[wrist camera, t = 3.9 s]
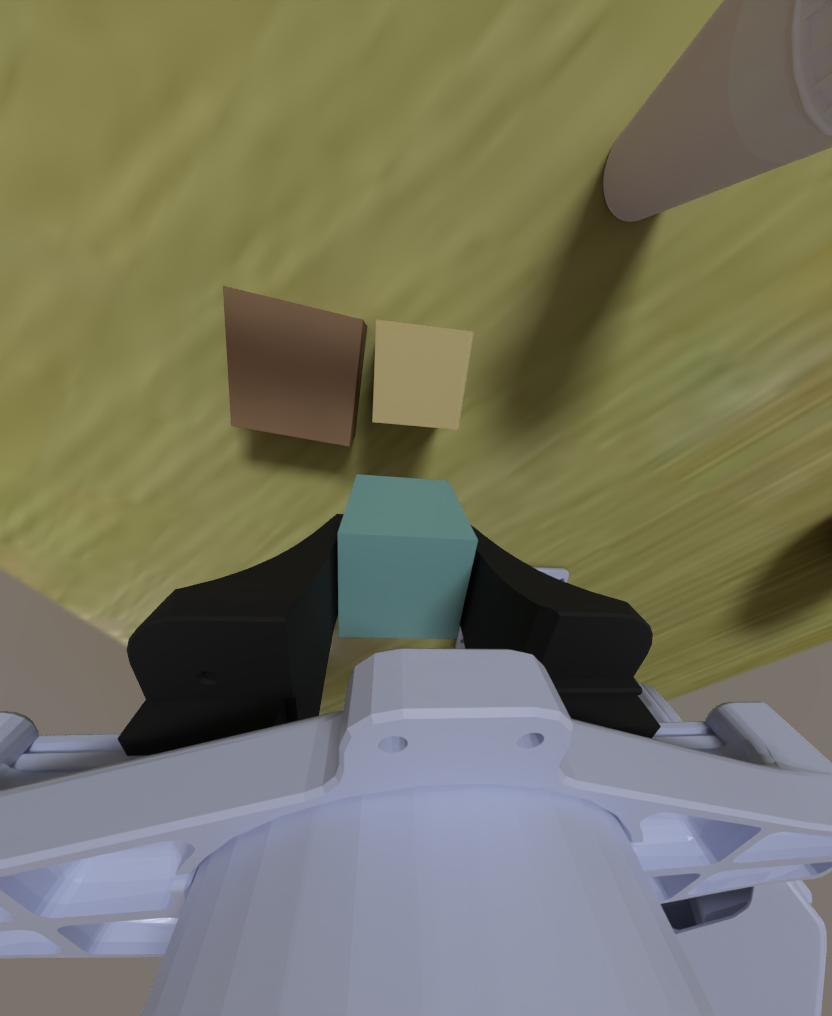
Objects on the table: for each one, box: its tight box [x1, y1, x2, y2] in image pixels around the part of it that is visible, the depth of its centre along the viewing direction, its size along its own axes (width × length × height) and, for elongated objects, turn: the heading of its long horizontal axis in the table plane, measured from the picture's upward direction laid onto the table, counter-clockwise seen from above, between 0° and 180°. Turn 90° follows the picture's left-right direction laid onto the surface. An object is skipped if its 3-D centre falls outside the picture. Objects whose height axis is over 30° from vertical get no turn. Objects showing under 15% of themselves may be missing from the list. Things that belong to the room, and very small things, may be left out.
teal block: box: [338, 474, 478, 639], centre depth 12 cm, size 4×4×5 cm
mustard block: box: [372, 320, 474, 430], centre depth 15 cm, size 4×4×5 cm
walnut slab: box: [223, 286, 367, 446], centre depth 16 cm, size 6×6×3 cm
